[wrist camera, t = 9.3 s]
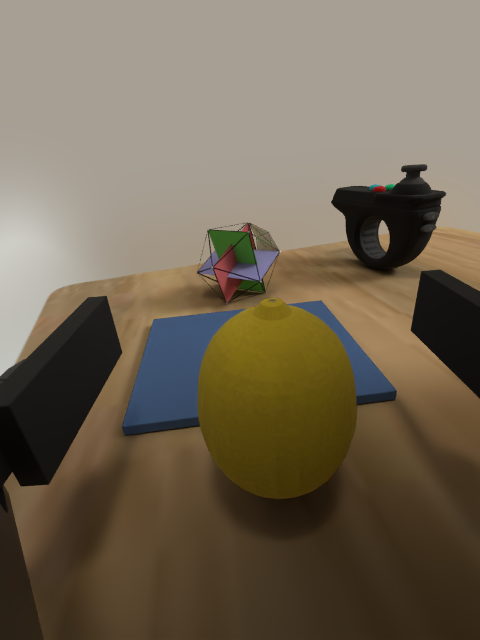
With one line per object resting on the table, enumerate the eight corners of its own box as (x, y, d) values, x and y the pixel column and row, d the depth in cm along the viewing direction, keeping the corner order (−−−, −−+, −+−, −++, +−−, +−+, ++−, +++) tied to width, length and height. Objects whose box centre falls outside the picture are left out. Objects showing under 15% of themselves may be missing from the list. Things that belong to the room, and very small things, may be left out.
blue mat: (321, 306, 28) (321, 300, 28) (395, 399, 17) (397, 390, 17) (154, 325, 27) (153, 319, 27) (124, 435, 16) (121, 426, 16)
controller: (404, 285, 31) (423, 167, 26) (324, 255, 41) (327, 167, 36) (437, 276, 32) (461, 163, 27) (352, 249, 42) (359, 164, 38)
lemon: (378, 517, 12) (415, 320, 8) (230, 573, 11) (198, 369, 7) (307, 415, 17) (311, 262, 13) (200, 445, 15) (171, 286, 12)
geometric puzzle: (240, 299, 25) (266, 201, 26) (172, 287, 28) (197, 201, 29) (275, 319, 31) (295, 239, 32) (216, 307, 35) (235, 236, 35)
